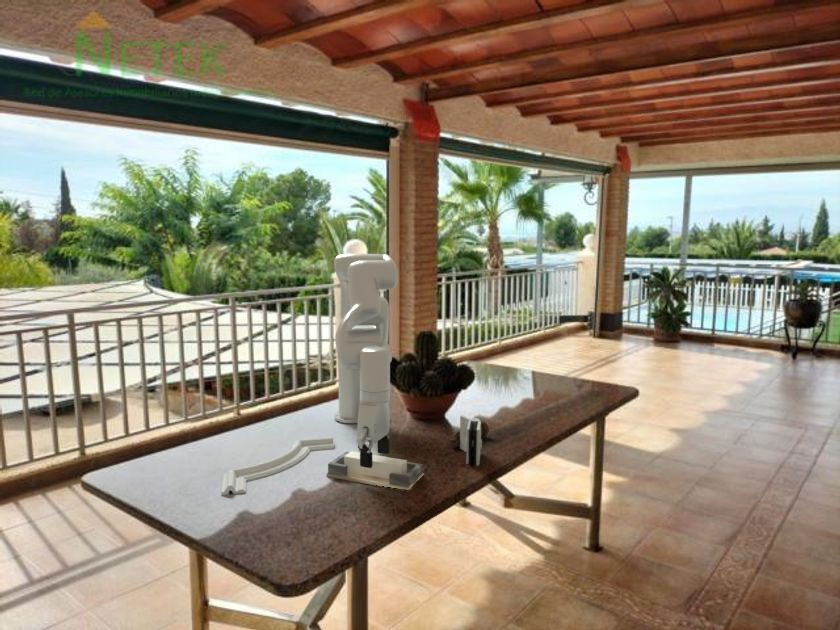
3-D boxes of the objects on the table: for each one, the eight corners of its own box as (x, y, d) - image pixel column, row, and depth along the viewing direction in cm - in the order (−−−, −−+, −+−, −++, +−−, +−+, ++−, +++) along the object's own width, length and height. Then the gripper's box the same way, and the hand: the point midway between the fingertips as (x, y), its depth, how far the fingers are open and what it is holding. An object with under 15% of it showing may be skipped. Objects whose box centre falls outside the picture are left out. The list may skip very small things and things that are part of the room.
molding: (233, 501, 140) (233, 490, 139) (198, 490, 145) (197, 478, 145) (342, 446, 176) (342, 437, 176) (310, 439, 182) (310, 430, 182)
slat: (351, 465, 158) (351, 451, 157) (406, 475, 152) (406, 460, 151) (344, 471, 154) (344, 456, 154) (400, 481, 148) (400, 465, 148)
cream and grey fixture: (345, 462, 162) (345, 451, 161) (423, 476, 153) (424, 463, 153) (326, 476, 153) (326, 464, 152) (408, 491, 144) (408, 478, 144)
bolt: (451, 454, 174) (479, 439, 186) (463, 449, 171) (491, 434, 182) (443, 435, 175) (472, 422, 187) (455, 430, 172) (483, 417, 183)
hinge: (459, 448, 174) (460, 415, 172) (477, 448, 174) (478, 415, 173) (466, 466, 160) (467, 430, 159) (486, 466, 160) (487, 430, 159)
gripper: (376, 385, 160) (377, 446, 162) (345, 402, 144) (345, 470, 146) (402, 388, 157) (402, 450, 159) (372, 406, 141) (372, 475, 144)
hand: (375, 459), depth 153 cm, fingers open, 9 cm apart
